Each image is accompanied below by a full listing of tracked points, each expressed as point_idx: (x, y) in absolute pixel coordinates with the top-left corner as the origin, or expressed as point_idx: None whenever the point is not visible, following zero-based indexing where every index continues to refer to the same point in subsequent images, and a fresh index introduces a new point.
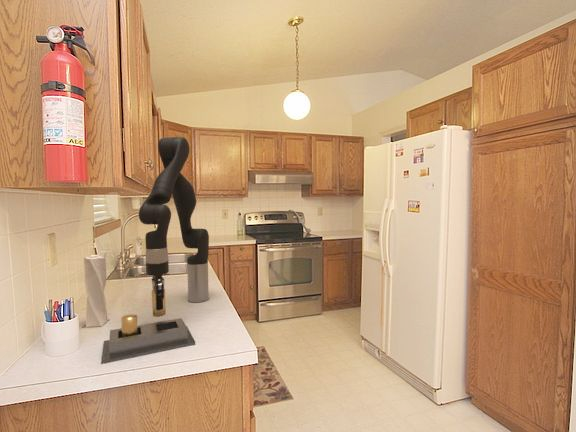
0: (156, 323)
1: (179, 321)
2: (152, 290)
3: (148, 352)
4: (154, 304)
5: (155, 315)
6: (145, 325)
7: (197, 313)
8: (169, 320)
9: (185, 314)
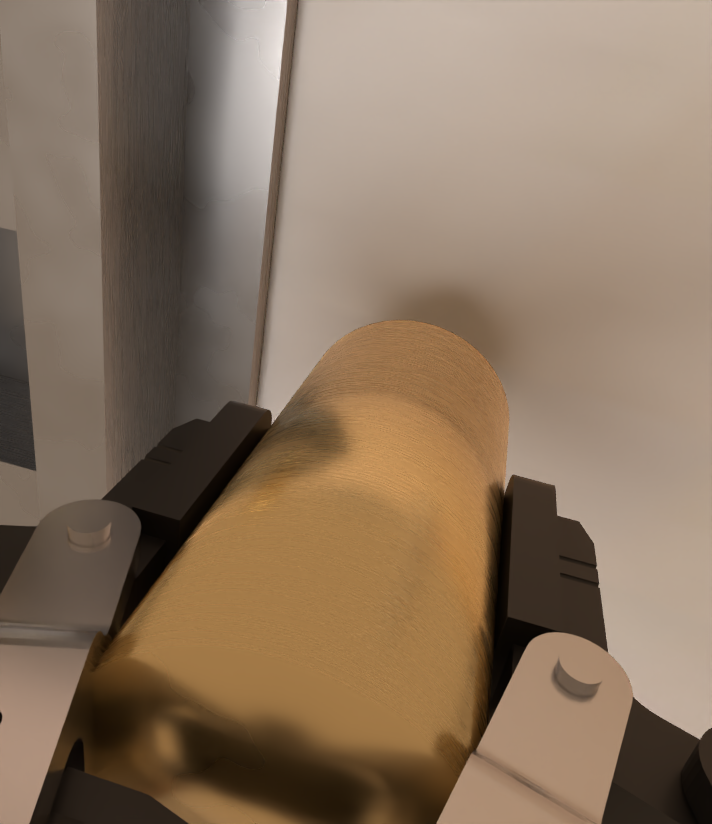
0: (55, 255)
1: (6, 493)
2: (348, 710)
3: None
4: (277, 432)
5: (333, 347)
6: (39, 84)
7: None
8: (91, 427)
9: (656, 695)
